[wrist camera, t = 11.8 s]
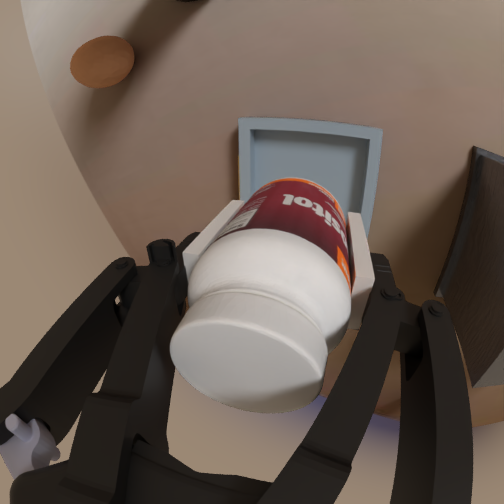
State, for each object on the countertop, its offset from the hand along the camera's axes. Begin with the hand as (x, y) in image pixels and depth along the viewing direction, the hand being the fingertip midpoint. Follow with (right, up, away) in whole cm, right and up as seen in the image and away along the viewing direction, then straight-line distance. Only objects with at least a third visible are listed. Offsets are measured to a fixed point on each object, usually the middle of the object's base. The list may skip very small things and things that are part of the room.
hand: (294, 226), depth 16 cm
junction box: (+24, +1, +4) cm, 24 cm away
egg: (-17, +20, +6) cm, 26 cm away
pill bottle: (0, 0, 0) cm, 1 cm away
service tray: (+3, +5, +8) cm, 10 cm away
